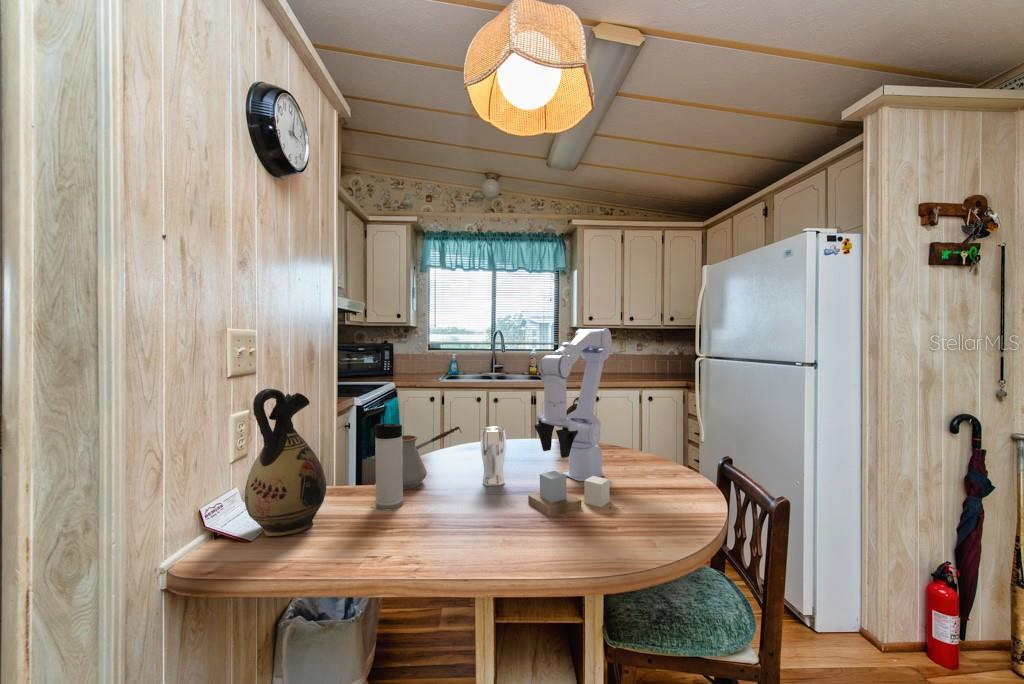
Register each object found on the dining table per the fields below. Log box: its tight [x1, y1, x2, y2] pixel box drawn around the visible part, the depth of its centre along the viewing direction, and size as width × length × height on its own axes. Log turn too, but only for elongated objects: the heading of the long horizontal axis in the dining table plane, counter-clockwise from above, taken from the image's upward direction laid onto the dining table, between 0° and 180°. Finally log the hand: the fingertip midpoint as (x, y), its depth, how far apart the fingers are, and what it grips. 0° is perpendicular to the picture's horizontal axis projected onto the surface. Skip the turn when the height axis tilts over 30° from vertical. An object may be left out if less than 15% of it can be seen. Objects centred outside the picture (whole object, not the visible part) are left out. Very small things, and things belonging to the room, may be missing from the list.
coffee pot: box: [402, 426, 463, 490], centre depth 120 cm, size 21×12×15 cm, turn 107°
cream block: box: [583, 476, 611, 508], centre depth 105 cm, size 4×4×6 cm
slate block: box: [539, 470, 568, 503], centre depth 103 cm, size 4×4×6 cm
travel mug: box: [374, 423, 404, 511], centre depth 104 cm, size 6×7×20 cm
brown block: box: [527, 492, 582, 517], centre depth 103 cm, size 9×9×2 cm
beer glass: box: [480, 425, 507, 487], centre depth 119 cm, size 7×7×15 cm
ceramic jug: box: [244, 388, 327, 537], centre depth 91 cm, size 17×15×30 cm
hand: (555, 453), depth 112 cm, fingers open, 7 cm apart
